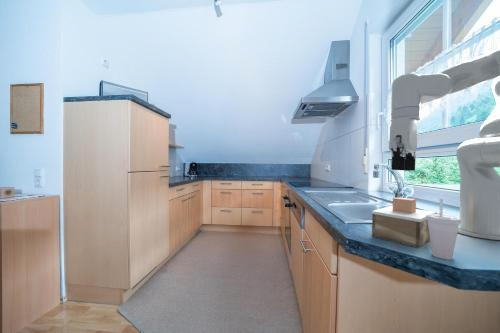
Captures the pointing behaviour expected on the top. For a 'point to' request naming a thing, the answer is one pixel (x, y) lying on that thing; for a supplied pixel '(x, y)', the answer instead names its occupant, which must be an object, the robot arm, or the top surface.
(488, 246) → the top surface
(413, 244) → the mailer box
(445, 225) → the smoothie
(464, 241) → the top surface
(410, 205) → the lid
